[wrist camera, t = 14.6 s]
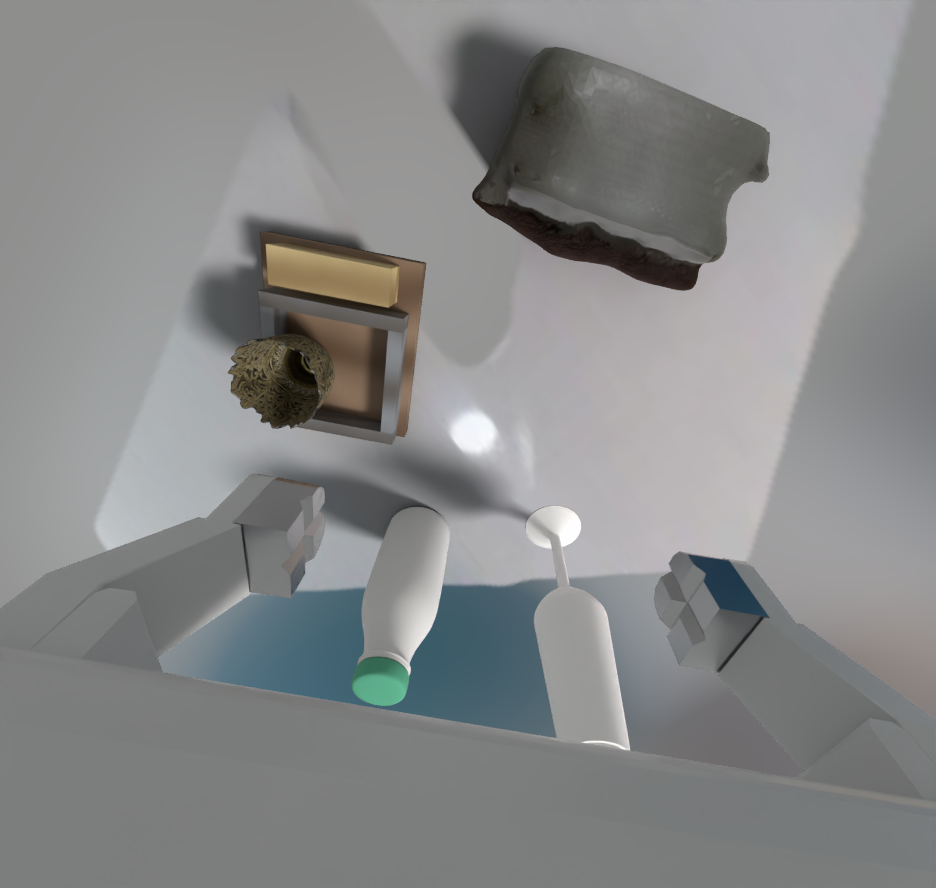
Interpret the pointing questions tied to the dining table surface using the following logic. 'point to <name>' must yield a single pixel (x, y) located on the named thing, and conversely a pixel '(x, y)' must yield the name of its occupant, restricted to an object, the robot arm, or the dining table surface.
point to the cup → (282, 378)
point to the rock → (620, 169)
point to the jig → (348, 327)
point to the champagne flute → (576, 645)
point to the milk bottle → (400, 602)
